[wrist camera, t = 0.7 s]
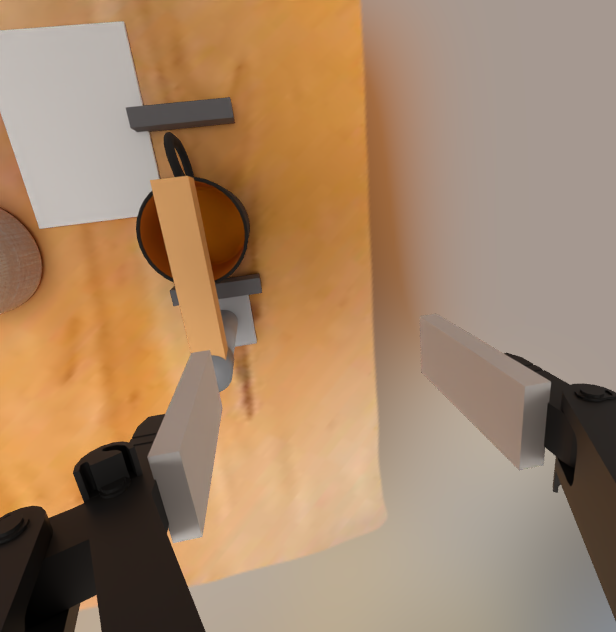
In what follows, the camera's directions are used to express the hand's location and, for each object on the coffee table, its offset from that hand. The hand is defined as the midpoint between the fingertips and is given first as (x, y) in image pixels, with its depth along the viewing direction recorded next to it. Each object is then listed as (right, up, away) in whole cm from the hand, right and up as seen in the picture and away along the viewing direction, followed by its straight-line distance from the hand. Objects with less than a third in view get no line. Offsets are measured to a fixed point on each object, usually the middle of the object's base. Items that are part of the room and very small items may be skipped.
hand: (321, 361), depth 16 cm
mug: (-11, +13, +22) cm, 28 cm away
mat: (-21, +19, +18) cm, 34 cm away
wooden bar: (-9, +4, +13) cm, 16 cm away
